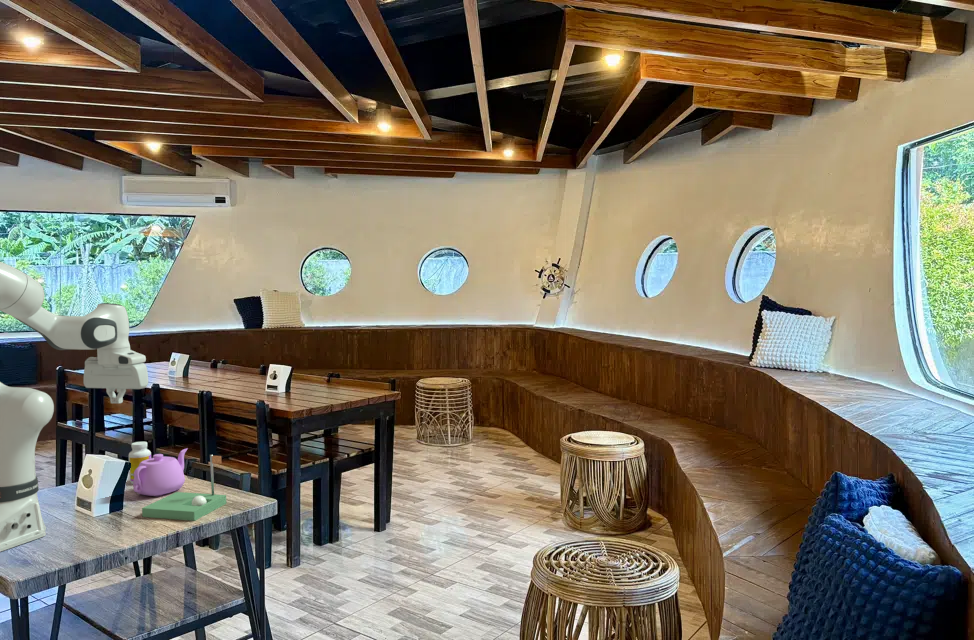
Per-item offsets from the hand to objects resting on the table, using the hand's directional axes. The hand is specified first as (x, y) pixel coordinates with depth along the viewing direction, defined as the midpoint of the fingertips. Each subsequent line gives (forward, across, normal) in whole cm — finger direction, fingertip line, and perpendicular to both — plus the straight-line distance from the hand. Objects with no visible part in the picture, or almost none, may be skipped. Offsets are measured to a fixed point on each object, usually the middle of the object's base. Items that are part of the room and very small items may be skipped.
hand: (116, 403), depth 220 cm
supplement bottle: (+29, -6, +16) cm, 34 cm away
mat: (+29, +26, -6) cm, 40 cm away
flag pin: (+27, +32, +1) cm, 42 cm away
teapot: (+29, +8, +9) cm, 32 cm away
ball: (+27, +31, -6) cm, 41 cm away
